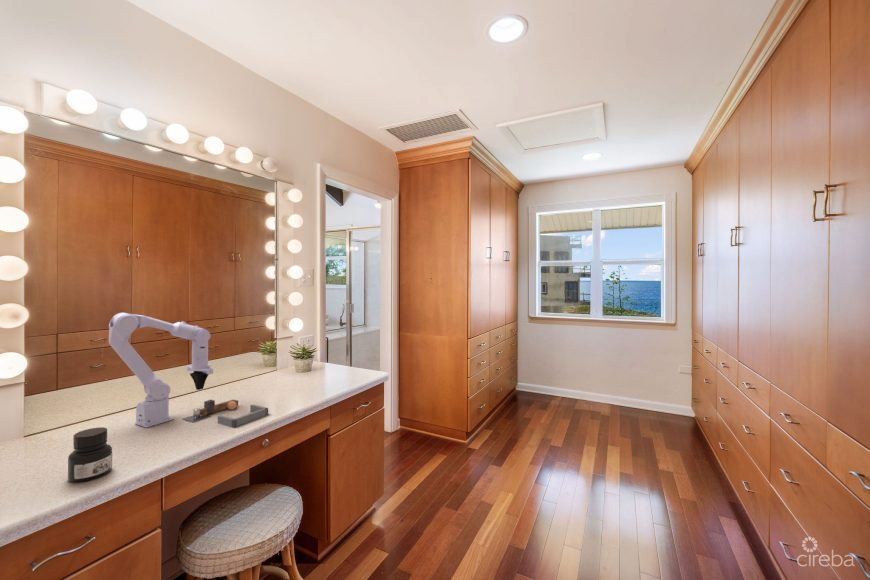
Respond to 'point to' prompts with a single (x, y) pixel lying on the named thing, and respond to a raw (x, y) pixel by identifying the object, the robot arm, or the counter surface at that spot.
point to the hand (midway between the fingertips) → (199, 389)
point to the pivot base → (196, 416)
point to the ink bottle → (89, 455)
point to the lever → (214, 406)
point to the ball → (232, 405)
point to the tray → (244, 417)
